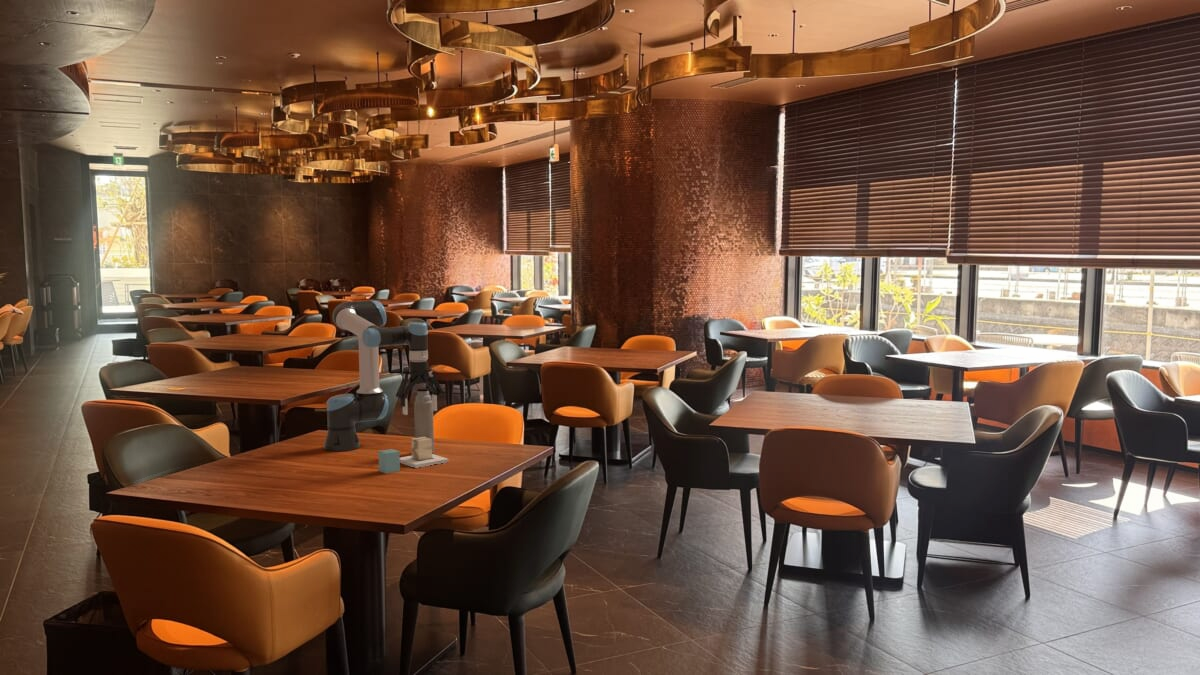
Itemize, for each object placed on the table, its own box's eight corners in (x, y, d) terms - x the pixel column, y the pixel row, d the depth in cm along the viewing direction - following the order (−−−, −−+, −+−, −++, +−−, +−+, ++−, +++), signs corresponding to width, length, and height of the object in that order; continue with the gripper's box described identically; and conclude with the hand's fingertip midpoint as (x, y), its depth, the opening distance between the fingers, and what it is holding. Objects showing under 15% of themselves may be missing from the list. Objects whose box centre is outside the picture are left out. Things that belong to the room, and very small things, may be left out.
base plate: (396, 461, 370) (396, 457, 370) (428, 456, 380) (428, 452, 380) (415, 468, 358) (415, 464, 358) (448, 462, 368) (448, 458, 368)
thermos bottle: (435, 450, 391) (434, 387, 388) (431, 454, 383) (430, 389, 380) (417, 450, 391) (415, 387, 388) (413, 454, 383) (411, 389, 380)
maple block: (411, 457, 370) (411, 438, 369) (424, 455, 373) (424, 436, 373) (419, 460, 365) (418, 440, 364) (432, 458, 369) (431, 438, 368)
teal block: (378, 471, 354) (378, 451, 354) (392, 468, 358) (392, 448, 358) (386, 473, 350) (385, 453, 349) (400, 471, 354) (399, 451, 353)
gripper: (395, 364, 354) (397, 417, 356) (450, 359, 370) (451, 410, 372) (386, 362, 360) (387, 414, 361) (440, 357, 376) (441, 407, 378)
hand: (420, 412), depth 367 cm, fingers open, 13 cm apart
